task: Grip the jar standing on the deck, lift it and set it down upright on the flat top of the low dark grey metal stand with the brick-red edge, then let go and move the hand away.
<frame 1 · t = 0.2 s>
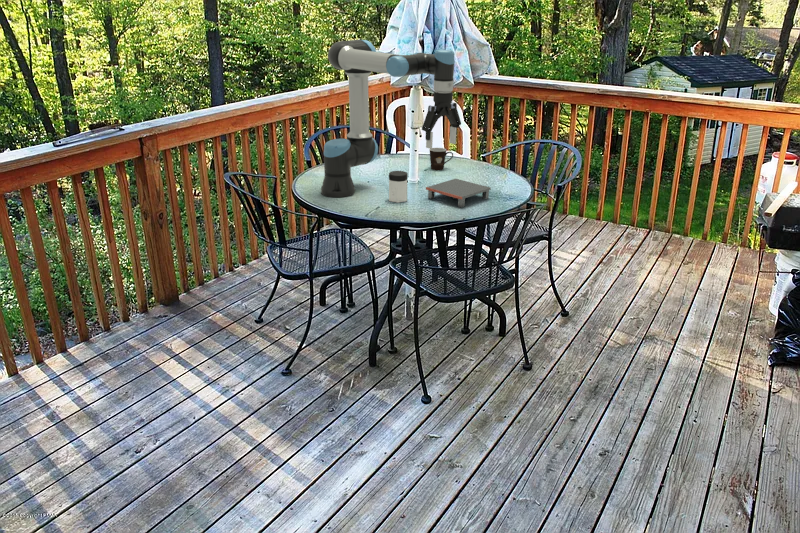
hand: (441, 145, 265), 28 cm above the table, tool pointing down, fingers open, 13 cm apart
jar: (397, 200, 289), on the table
coffee mug: (440, 169, 338), on the table
stand: (458, 198, 292), on the table
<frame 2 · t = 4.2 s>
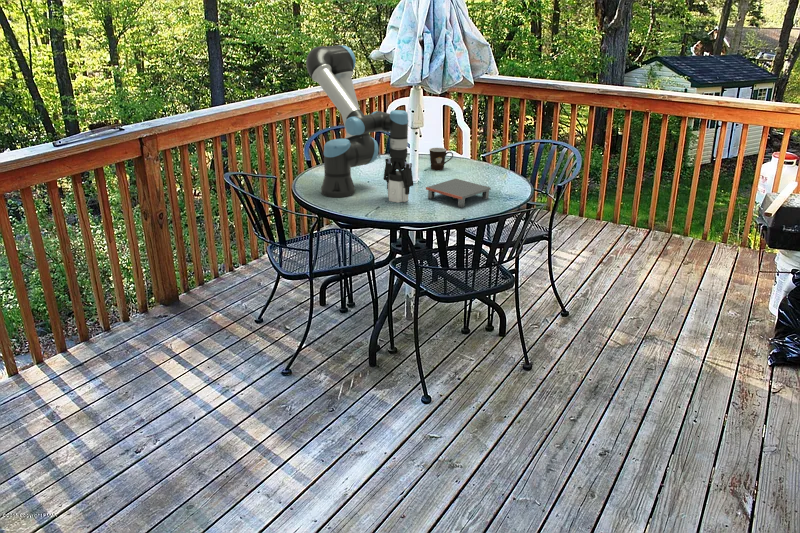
hand: (398, 198, 289), 0 cm above the table, tool pointing down, fingers closed on jar, 8 cm apart
jar: (397, 200, 289), on the table, touching gripper
everything else where it was.
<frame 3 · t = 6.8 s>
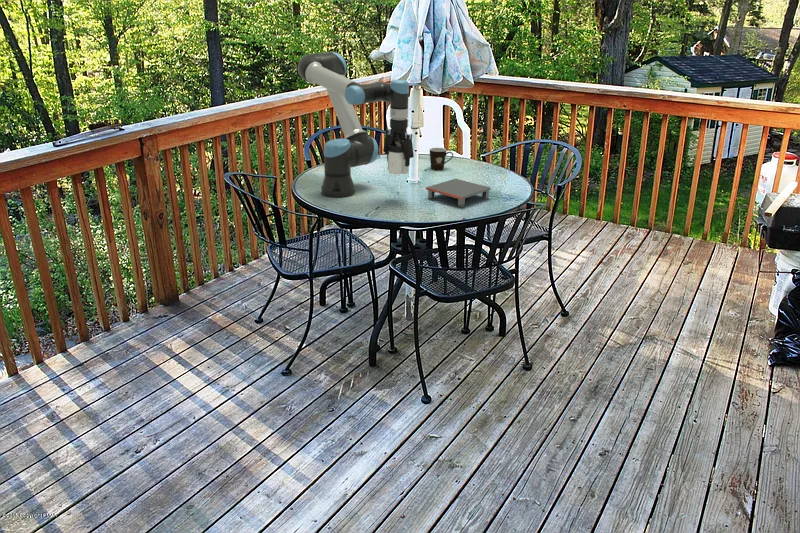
hand: (397, 171, 284), 13 cm above the table, tool pointing down, fingers closed on jar, 8 cm apart
jar: (397, 172, 285), point 12 cm above the table, touching gripper
everything else where it was.
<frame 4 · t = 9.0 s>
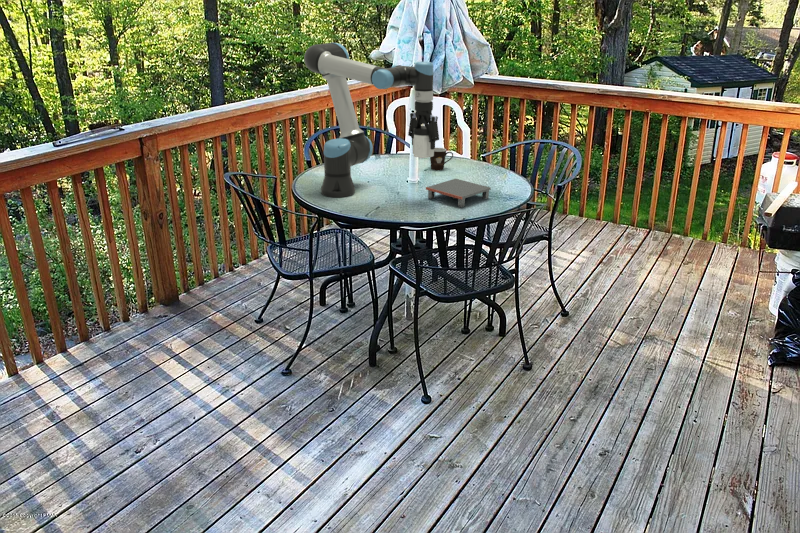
hand: (423, 154, 282), 20 cm above the table, tool pointing down, fingers closed on jar, 8 cm apart
jar: (422, 156, 282), point 19 cm above the table, touching gripper
everything else where it was.
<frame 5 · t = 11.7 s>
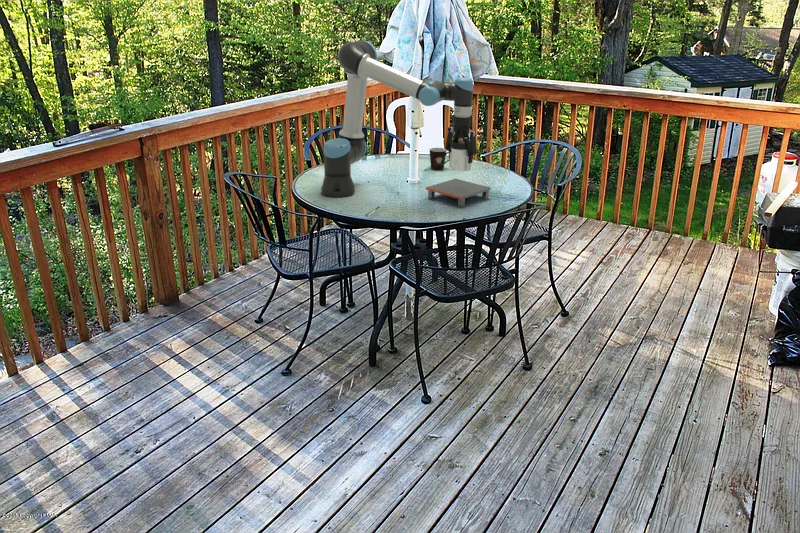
hand: (459, 168, 287), 14 cm above the table, tool pointing down, fingers closed on jar, 8 cm apart
jar: (459, 169, 287), point 13 cm above the table, touching gripper
everything else where it was.
when the fingers open (8 cm above the table, at t = 14.1 s): jar drops 2 cm, resting on stand.
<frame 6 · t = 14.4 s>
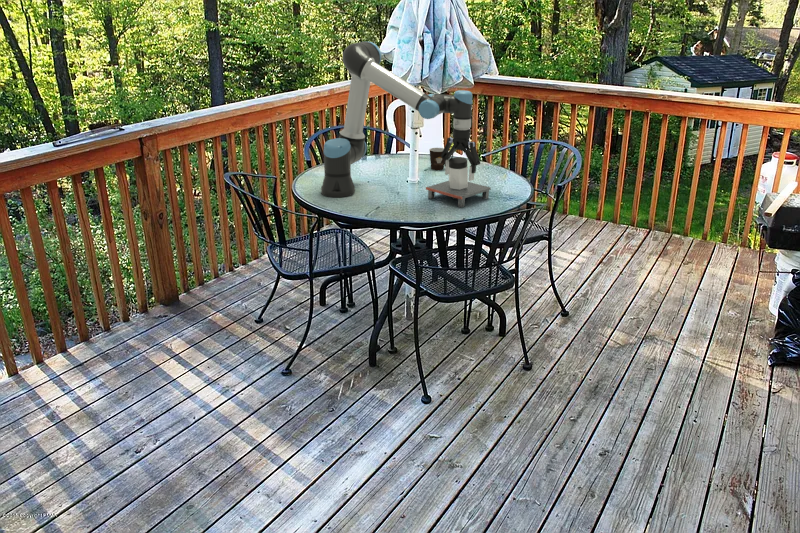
hand: (459, 177, 289), 10 cm above the table, tool pointing down, fingers open, 13 cm apart
jar: (458, 186, 290), point 5 cm above the table, touching stand
everything else where it was.
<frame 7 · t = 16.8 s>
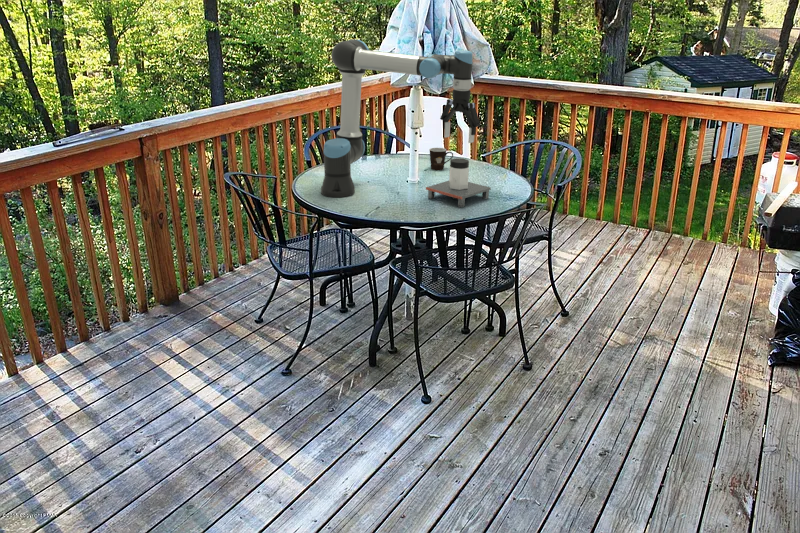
hand: (458, 139, 285), 25 cm above the table, tool pointing down, fingers open, 13 cm apart
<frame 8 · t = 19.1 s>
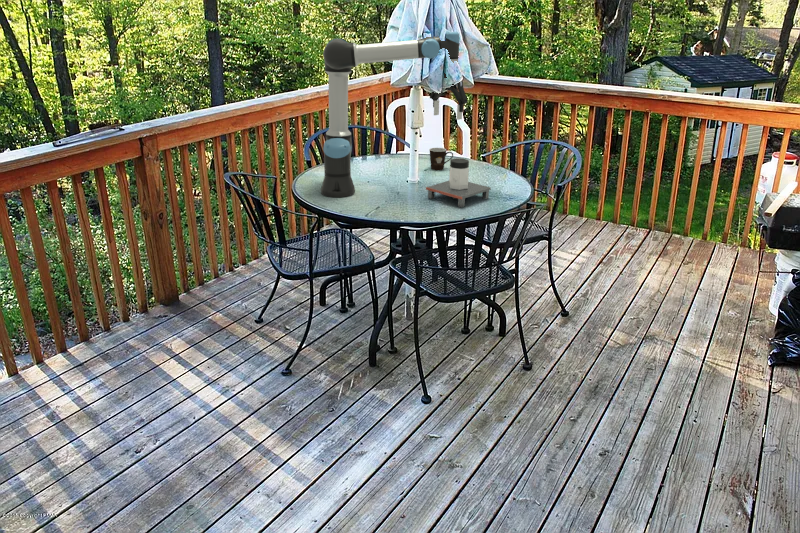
hand: (447, 117, 299), 32 cm above the table, tool pointing down, fingers open, 13 cm apart
nothing on the table moved.
at the end: jar inside the target area on the stand (0.2 cm from its centre), point 4.8 cm above the stand's base; jar tilted 0°; the gripper is holding nothing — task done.
